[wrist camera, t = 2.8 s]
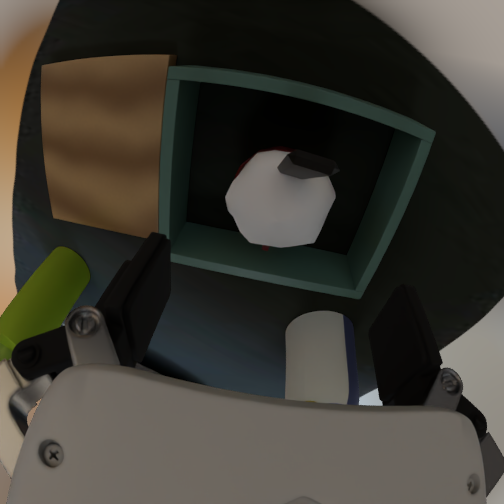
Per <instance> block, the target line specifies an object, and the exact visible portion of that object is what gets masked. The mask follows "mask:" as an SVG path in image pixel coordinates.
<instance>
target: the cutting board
mask: <svg viewBox="0 0 504 504" xmlns="http://www.w3.org/2000/svg"><path fill="white" fill-rule="evenodd" d="M176 59H177V55H122V56H107V57H96V58H86V59H78V60H71V61H64V62H58V63H53V64H47V65H43V66H42V74H41V122H42V139H43V151H44V161H45V169H46V177H47V184H48V190H49V197H50V202H51V208H52V213H53V218H56V219H61V220H65V221H70V222H74V223H79V224H83V225H88V226H93V227H97V228H102V229H106V230H111V231H116V232H120V233H125V234H129V235H134V236H139V237H143V238H148V236H149V235H150V233H151V232H156V233H159V178H160V155H161V138H162V124H163V113H164V102H165V92H166V84H167V80H168V79H167V76H168V68H169V66H176Z"/></svg>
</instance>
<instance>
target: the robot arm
mask: <svg viewBox="0 0 504 504" xmlns="http://www.w3.org/2000/svg"><path fill="white" fill-rule="evenodd" d="M170 291H171V241H170V239H167V236H166V235H165V234H161V233H156V232H151V233H150V235H149V236H148V238H147V239H146V240H145V242H144V243H143V245H142V246H141V248H140V249H139V251H138V252H137V253H136V255H135V256H134V258H133V259H132V261H130V260H127V261H125V262H124V263H123V265H122V266H121V268H120V269H119V271H118V272H117V273H116V275H115V276H114V278H113V279H112V281H111V283H110V284H109V286H108V287H107V289H106V290H105V292H104V293H103V295H102V296H101V298H100V300H99V301H98V303H97V304H96V306H95V307H93V306H80V307H78V308H75V309H74V310H72V311H71V312H70V313H69V314H68V316H67V318H66V320H65V326H62V327H59V328H56V329H53V330H50V331H48V332H45V333H42V334H39V335H36V336H33V337H30V338H27V339H24V340H22V341H20V342H19V343H18V344H17V345H16V346H15V347H14V349H13V351H12V355H11V358H10V359H9V360H7V359H6V358H5V359H3V360H2V361H0V462H1V463H2V465H3V467H4V469H5V470H6V472H7V473H8V475H9V476H10V478H11V484H10V488H9V493H8V497H7V503H6V504H486V497H487V496H488V495H489V493H490V492H491V490H492V489H493V488H494V486H495V485H496V483H497V482H498V481H499V479H500V478H501V476H502V475H503V473H504V457H503V456H502V453H501V452H500V450H499V448H498V446H497V445H496V443H495V441H494V440H493V438H492V436H491V435H490V433H489V432H488V433H486V430H487V422H486V419H485V417H484V415H483V414H482V413H481V412H480V411H479V410H478V409H477V408H476V407H475V406H474V405H473V404H472V403H471V402H470V401H469V400H467V399H466V398H465V397H464V396H463V395H462V390H463V383H462V380H461V378H460V376H459V375H458V374H457V372H455V371H454V370H453V369H450V368H443V369H441V368H440V365H441V364H442V363H443V362H442V359H441V356H440V353H439V350H438V347H437V344H436V341H435V338H434V335H433V333H432V330H431V327H430V324H429V322H428V319H427V316H426V314H425V311H424V309H423V306H422V304H421V301H420V299H419V296H418V294H417V292H416V289H415V288H414V287H413V286H409V285H404V284H401V285H400V286H399V287H396V288H395V290H394V292H393V293H392V295H391V296H390V298H389V300H388V301H387V303H386V304H385V306H384V308H383V309H382V311H381V312H380V314H379V315H378V317H377V318H376V320H375V321H374V323H373V324H372V326H371V327H370V329H369V339H370V344H371V350H372V355H373V361H374V367H375V373H376V379H377V385H378V392H379V398H380V400H381V401H382V403H383V406H366V405H344V404H329V403H316V402H306V401H296V400H288V399H280V398H273V397H266V396H259V395H253V394H247V393H241V392H236V391H230V390H225V389H220V388H215V387H210V386H206V385H201V384H197V383H192V382H188V381H184V380H179V379H175V378H171V377H167V376H163V375H160V374H156V373H152V372H148V371H143V370H139V369H135V366H136V364H137V362H140V363H141V362H142V360H143V358H144V355H145V353H146V350H147V348H148V345H149V343H150V341H151V338H152V336H153V333H154V331H155V329H156V326H157V324H158V322H159V319H160V317H161V315H162V312H163V310H164V308H165V305H166V303H167V301H168V299H169V296H170ZM127 366H128V367H127ZM41 398H42V399H41ZM40 399H41V401H40V403H39V405H38V407H37V409H36V411H35V413H34V416H33V418H32V421H31V423H30V425H29V427H28V424H27V416H28V413H29V411H30V410H31V409H32V408H33V407H35V406H36V405H37V403H36V402H37V401H38V400H40Z"/></svg>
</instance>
